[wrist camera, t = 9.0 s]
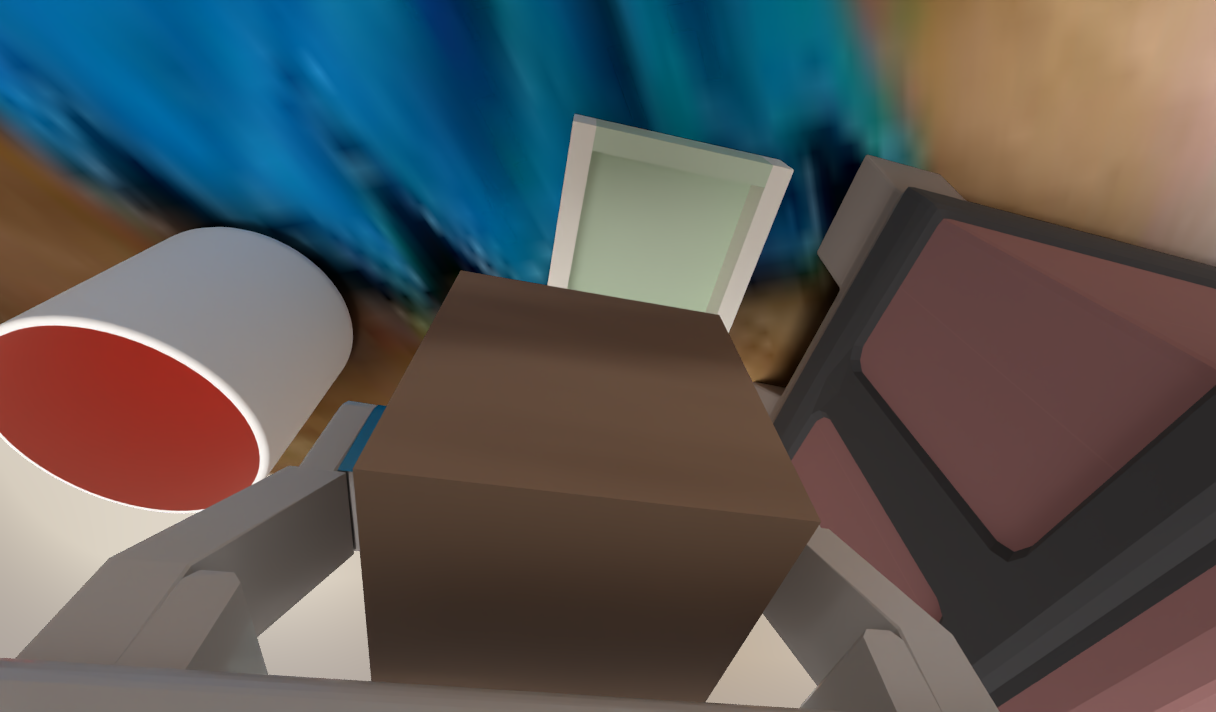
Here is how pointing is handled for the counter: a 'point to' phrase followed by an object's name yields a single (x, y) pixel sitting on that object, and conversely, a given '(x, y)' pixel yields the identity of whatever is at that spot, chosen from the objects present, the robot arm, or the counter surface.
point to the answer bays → (662, 217)
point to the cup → (174, 370)
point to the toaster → (1019, 441)
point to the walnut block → (572, 499)
